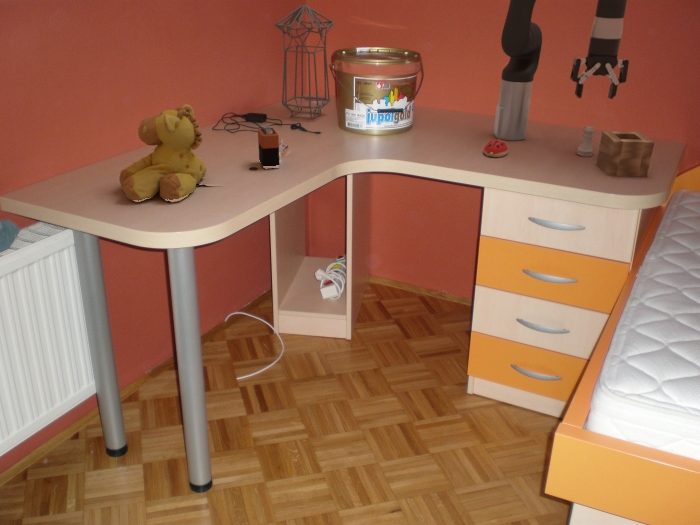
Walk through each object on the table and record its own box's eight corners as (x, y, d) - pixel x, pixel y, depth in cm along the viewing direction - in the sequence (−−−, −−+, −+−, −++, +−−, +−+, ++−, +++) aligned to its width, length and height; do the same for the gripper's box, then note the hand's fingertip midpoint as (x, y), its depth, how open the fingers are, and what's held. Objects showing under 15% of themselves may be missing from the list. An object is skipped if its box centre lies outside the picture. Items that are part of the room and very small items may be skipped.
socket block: (607, 175, 170) (614, 141, 166) (596, 163, 179) (602, 131, 175) (646, 176, 170) (654, 142, 166) (633, 164, 179) (640, 132, 175)
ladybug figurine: (510, 151, 189) (511, 139, 188) (504, 160, 181) (505, 148, 179) (486, 148, 191) (488, 136, 190) (479, 157, 183) (481, 145, 182)
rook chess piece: (593, 157, 184) (598, 129, 180) (577, 156, 185) (581, 128, 181) (591, 153, 188) (596, 125, 184) (575, 152, 189) (580, 124, 185)
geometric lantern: (336, 113, 225) (336, 4, 210) (317, 124, 212) (316, 8, 197) (294, 109, 230) (292, 1, 215) (273, 119, 217) (269, 5, 202)
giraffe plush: (117, 181, 160) (106, 102, 152) (214, 170, 168) (208, 95, 160) (126, 210, 143) (114, 123, 135) (233, 197, 152) (228, 114, 143)
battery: (275, 161, 176) (273, 124, 172) (280, 168, 170) (278, 130, 166) (258, 162, 175) (257, 125, 171) (263, 170, 169) (261, 131, 165)
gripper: (628, 34, 175) (616, 95, 182) (574, 33, 176) (564, 94, 183) (638, 38, 169) (625, 101, 176) (582, 36, 169) (571, 100, 176)
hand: (594, 97), depth 179 cm, fingers open, 8 cm apart
